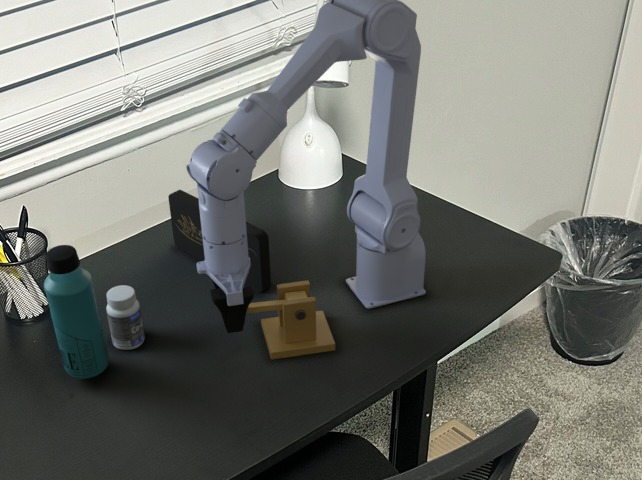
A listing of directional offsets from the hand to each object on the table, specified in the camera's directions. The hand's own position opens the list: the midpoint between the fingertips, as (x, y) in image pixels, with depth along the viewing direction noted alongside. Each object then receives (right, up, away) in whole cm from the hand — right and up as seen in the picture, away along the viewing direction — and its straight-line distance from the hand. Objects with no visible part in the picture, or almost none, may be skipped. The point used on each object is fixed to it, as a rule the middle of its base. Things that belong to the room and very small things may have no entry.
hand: (232, 318), depth 126 cm
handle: (+5, +1, 0) cm, 5 cm away
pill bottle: (-15, -3, +6) cm, 16 cm away
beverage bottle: (-20, -8, +1) cm, 21 cm away
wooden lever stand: (+9, -3, +3) cm, 10 cm away
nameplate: (-1, +9, +19) cm, 21 cm away
